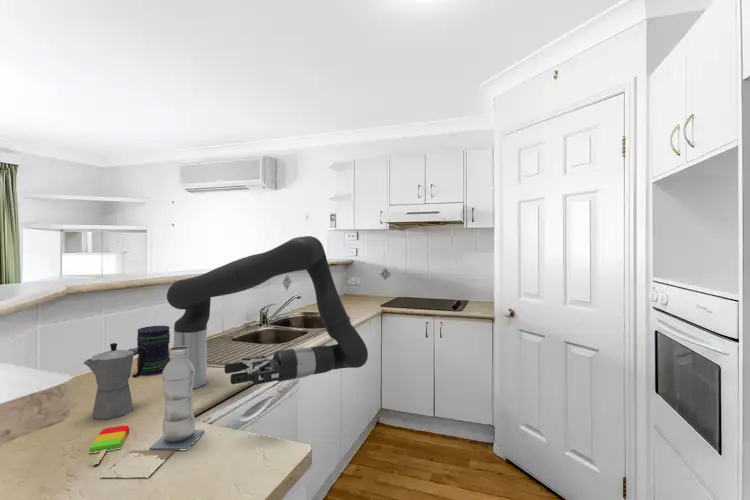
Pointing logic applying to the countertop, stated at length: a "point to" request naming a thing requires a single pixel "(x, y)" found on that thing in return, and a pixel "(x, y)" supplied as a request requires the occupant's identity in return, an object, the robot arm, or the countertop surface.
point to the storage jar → (154, 348)
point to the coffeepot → (114, 380)
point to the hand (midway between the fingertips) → (227, 374)
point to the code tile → (153, 453)
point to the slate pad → (184, 444)
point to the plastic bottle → (178, 396)
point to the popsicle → (109, 439)
